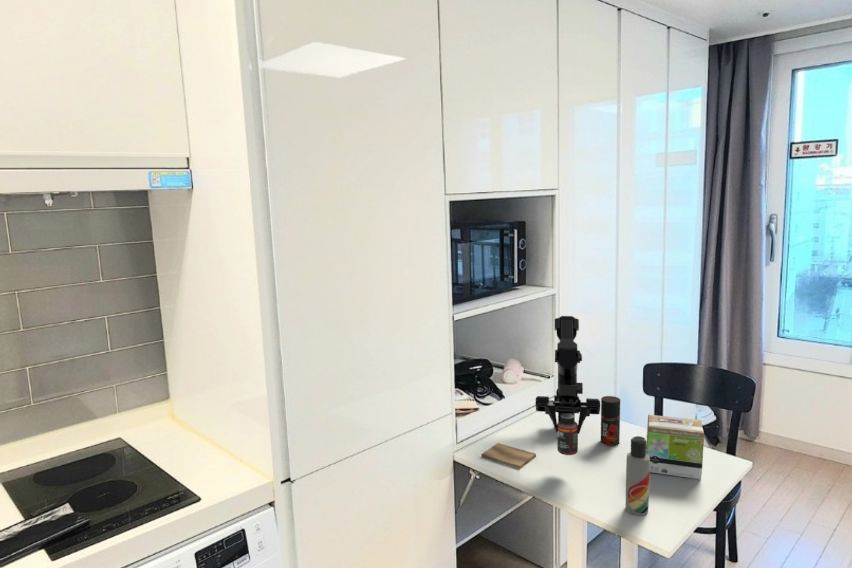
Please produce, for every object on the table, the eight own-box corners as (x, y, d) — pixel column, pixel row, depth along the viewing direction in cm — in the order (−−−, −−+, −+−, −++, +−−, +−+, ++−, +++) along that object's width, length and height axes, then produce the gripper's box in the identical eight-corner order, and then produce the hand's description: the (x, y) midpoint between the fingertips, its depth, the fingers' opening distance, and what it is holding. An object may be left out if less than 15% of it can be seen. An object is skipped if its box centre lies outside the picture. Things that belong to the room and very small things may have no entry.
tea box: (646, 473, 171) (647, 426, 168) (645, 458, 180) (647, 413, 178) (702, 480, 166) (704, 431, 163) (699, 464, 175) (701, 418, 173)
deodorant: (621, 440, 193) (622, 397, 190) (616, 447, 188) (617, 403, 185) (603, 437, 196) (604, 394, 194) (598, 444, 191) (599, 400, 189)
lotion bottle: (645, 518, 148) (648, 444, 145) (623, 512, 151) (624, 440, 148) (650, 507, 153) (652, 436, 150) (628, 502, 156) (629, 431, 153)
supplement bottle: (578, 448, 174) (579, 412, 172) (576, 457, 168) (577, 420, 166) (558, 446, 176) (558, 410, 174) (556, 454, 170) (556, 418, 168)
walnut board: (498, 445, 192) (498, 442, 192) (535, 456, 184) (535, 453, 184) (481, 457, 185) (481, 454, 185) (520, 469, 176) (520, 466, 176)
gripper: (535, 370, 174) (534, 420, 165) (600, 373, 170) (602, 424, 161) (536, 386, 183) (535, 434, 174) (598, 389, 178) (600, 438, 170)
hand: (567, 432), depth 170 cm, fingers closed on supplement bottle, 6 cm apart
